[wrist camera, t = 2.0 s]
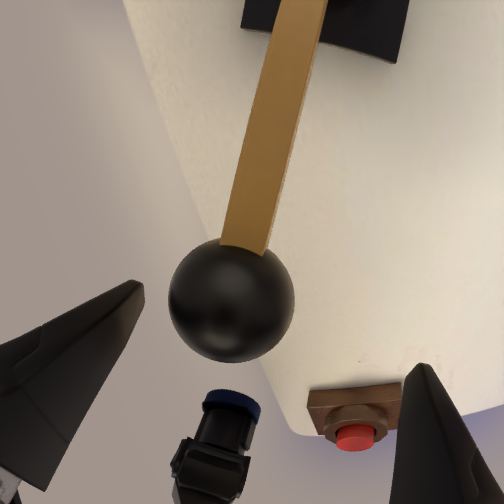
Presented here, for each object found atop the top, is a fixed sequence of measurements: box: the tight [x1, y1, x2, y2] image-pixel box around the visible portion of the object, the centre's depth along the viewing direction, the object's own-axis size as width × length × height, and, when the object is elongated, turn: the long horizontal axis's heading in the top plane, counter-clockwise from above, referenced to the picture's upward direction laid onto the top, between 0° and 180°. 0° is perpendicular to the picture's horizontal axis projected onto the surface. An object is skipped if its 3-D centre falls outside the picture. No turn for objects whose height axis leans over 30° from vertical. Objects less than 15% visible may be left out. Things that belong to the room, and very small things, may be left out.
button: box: [336, 424, 374, 451], centre depth 29 cm, size 4×4×2 cm
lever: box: [168, 0, 328, 363], centre depth 7 cm, size 17×3×3 cm, turn 170°
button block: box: [307, 383, 402, 444], centre depth 31 cm, size 10×7×4 cm
